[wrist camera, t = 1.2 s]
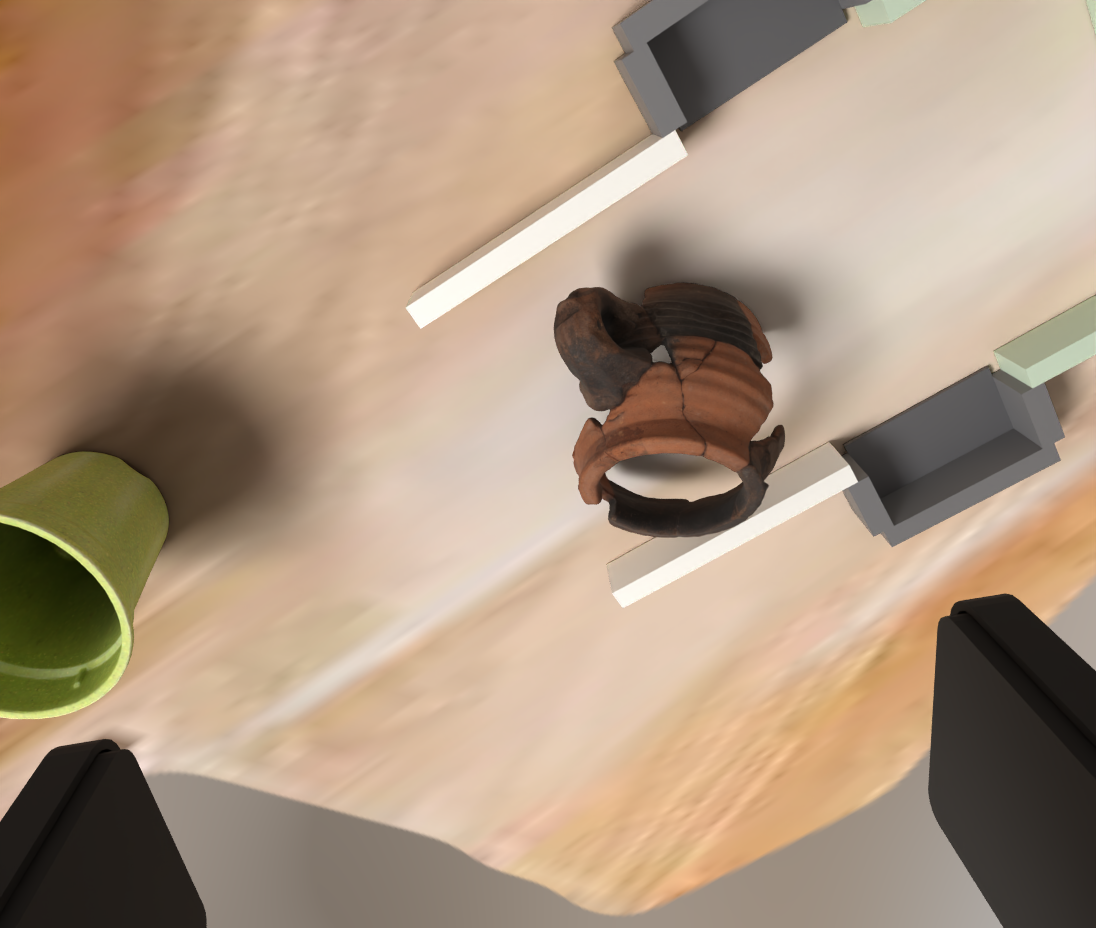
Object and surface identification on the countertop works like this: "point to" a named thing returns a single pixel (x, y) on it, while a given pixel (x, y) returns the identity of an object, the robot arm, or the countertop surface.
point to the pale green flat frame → (862, 473)
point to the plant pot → (72, 580)
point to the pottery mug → (670, 399)
